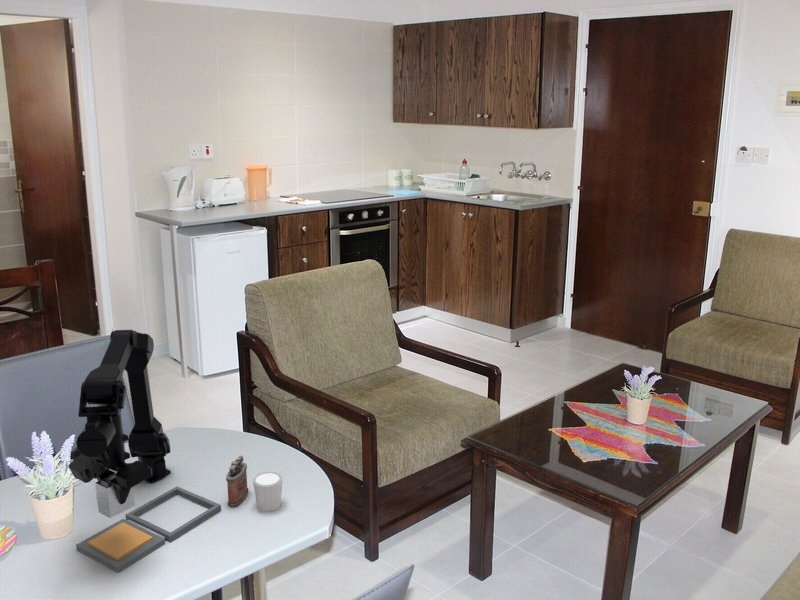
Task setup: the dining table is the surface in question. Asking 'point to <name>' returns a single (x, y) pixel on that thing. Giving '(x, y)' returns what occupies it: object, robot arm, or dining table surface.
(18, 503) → the dining table surface
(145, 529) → the lid
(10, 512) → the dining table surface
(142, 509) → the gray square frame
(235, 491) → the red tin
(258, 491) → the grey cup
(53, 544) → the dining table surface
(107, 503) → the block
